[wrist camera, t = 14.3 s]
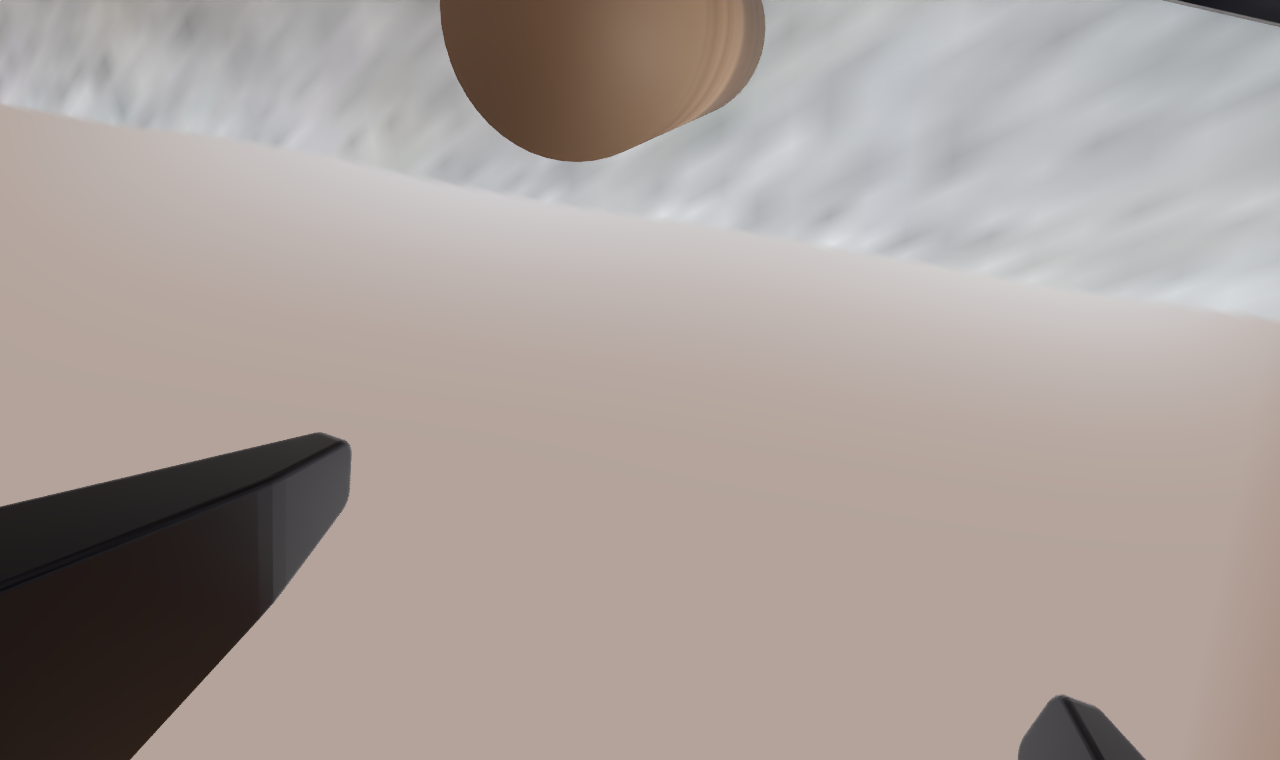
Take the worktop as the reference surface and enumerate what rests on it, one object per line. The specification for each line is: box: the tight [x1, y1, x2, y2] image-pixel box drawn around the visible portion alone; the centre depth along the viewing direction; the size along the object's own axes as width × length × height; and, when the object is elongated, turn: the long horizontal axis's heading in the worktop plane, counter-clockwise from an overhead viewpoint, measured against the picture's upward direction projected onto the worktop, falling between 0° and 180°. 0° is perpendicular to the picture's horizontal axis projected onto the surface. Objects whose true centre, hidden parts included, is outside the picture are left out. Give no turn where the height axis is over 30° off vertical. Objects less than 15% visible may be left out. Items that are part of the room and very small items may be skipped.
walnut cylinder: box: [440, 0, 765, 162], centre depth 14 cm, size 4×4×9 cm
